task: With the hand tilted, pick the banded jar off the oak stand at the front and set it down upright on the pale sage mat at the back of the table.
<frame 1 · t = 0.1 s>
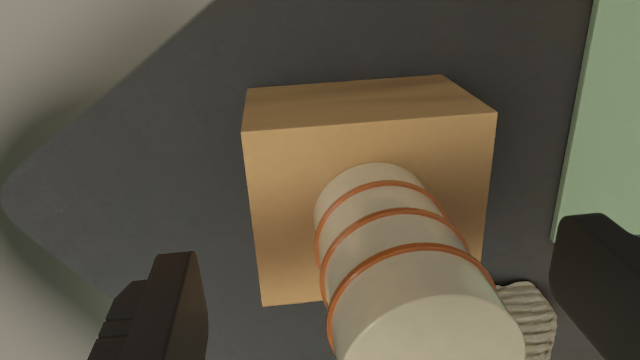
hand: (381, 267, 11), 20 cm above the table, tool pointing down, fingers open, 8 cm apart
banded jar: (371, 216, 24), point 8 cm above the table, touching stand
stand: (347, 156, 31), on the table
fossil tooth: (451, 310, 38), on the table
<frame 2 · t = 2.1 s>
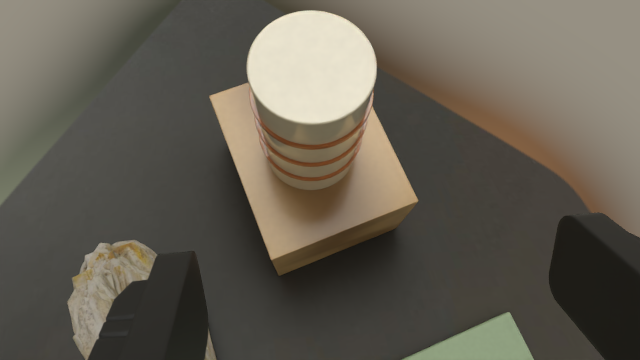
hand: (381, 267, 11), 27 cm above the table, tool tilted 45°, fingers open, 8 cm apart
banded jar: (310, 146, 31), point 8 cm above the table, touching stand
stand: (310, 183, 39), on the table
fossil tooth: (173, 349, 35), on the table
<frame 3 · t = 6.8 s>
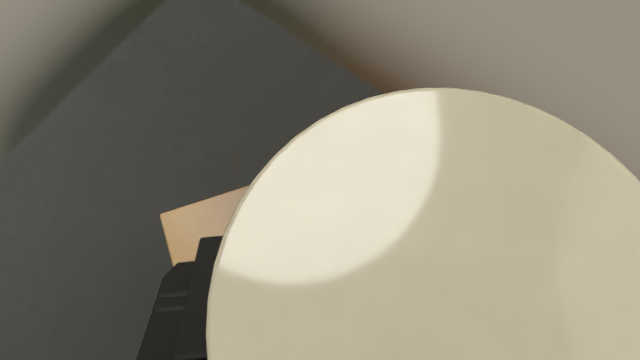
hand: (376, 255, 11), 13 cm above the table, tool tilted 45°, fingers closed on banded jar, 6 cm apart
banded jar: (362, 336, 15), point 8 cm above the table, touching gripper, stand
stand: (342, 341, 22), on the table
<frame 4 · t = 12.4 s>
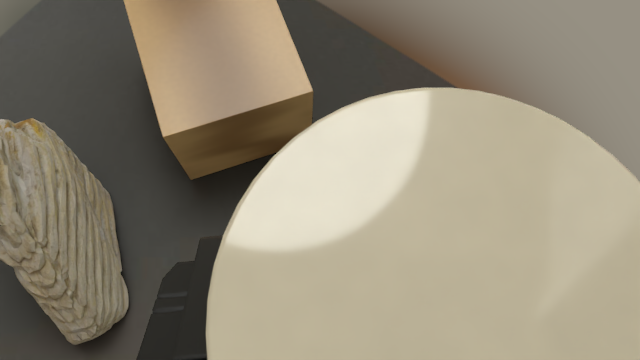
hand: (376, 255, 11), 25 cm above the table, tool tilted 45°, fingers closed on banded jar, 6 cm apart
banded jar: (362, 336, 15), point 20 cm above the table, touching gripper
stand: (230, 97, 40), on the table
fossil tooth: (80, 243, 36), on the table
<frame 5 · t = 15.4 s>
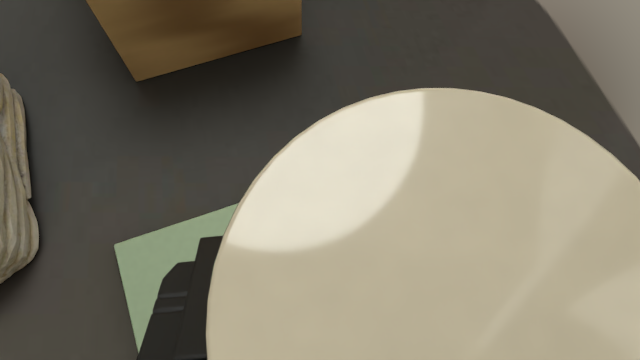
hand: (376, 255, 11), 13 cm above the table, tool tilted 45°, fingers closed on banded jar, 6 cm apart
banded jar: (362, 337, 15), point 8 cm above the table, touching gripper
mat: (340, 339, 23), on the table
when the fingers open (5 cm above the table, at t = 18.1 s): banded jar stays where it is, resting on mat.
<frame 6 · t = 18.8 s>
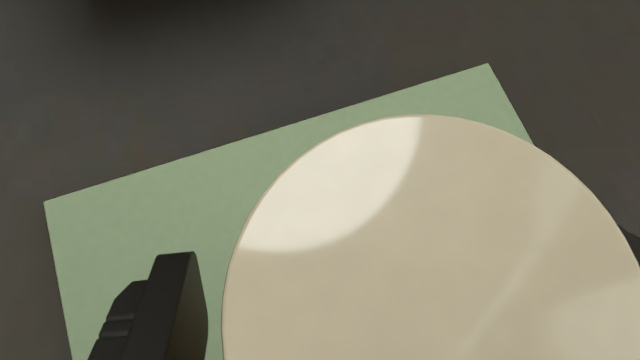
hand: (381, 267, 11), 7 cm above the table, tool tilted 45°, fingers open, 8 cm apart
banded jar: (359, 334, 16), point 1 cm above the table, touching mat
mat: (356, 331, 17), on the table
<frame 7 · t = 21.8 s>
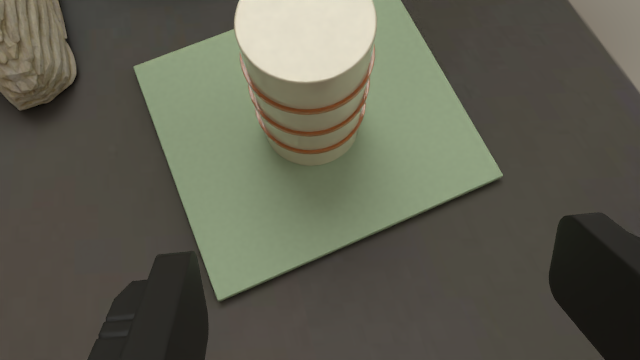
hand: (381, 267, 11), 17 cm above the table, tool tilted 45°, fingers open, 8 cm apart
banded jar: (311, 120, 29), point 1 cm above the table, touching mat
fossil tooth: (23, 21, 33), on the table
mat: (310, 122, 30), on the table
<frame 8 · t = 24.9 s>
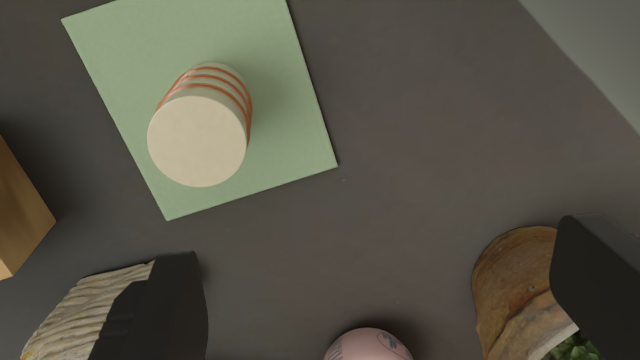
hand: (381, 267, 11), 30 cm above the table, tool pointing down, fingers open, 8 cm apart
banded jar: (213, 99, 38), point 1 cm above the table, touching mat
potted plant: (521, 269, 50), on the table
fossil tooth: (126, 290, 46), on the table
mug: (368, 353, 53), on the table
mat: (212, 98, 39), on the table
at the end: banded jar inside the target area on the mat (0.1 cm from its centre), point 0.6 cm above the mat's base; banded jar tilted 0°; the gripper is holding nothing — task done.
